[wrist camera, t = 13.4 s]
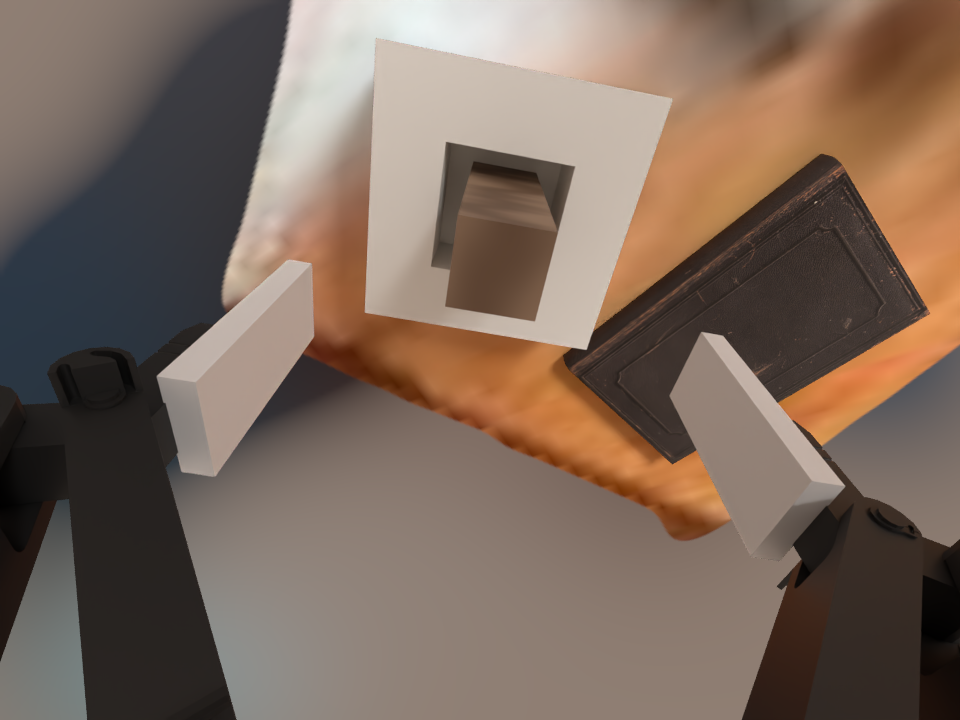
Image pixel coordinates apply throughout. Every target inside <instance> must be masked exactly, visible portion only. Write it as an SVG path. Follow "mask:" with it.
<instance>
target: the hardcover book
mask: <svg viewBox="0 0 960 720" xmlns="http://www.w3.org/2000/svg"><path fill="white" fill-rule="evenodd" d="M929 314H930V312H929V311H928V309H927V307H926V306H925V304H924V302H923V301H922V299H921V297H920V295H919V294H918V292H917V290H916V289H915V287H914V285H913V284H912V282H911V280H910V279H909V277H908V275H907V274H906V272H905V270H904V268H903V267H902V265H901V263H900V262H899V260H898V258H897V257H896V255H895V253H894V252H893V250H892V248H891V247H890V245H889V243H888V242H887V240H886V238H885V236H884V235H883V233H882V231H881V230H880V228H879V226H878V225H877V223H876V221H875V220H874V218H873V216H872V215H871V213H870V211H869V209H868V208H867V206H866V204H865V203H864V201H863V199H862V198H861V196H860V194H859V193H858V191H857V189H856V188H855V186H854V184H853V183H852V181H851V179H850V177H849V176H848V174H847V172H846V171H845V169H844V167H843V166H842V164H841V163H840V162H839V161H838V160H836V159H835V158H834V157H832V156H829V155H824V154H820V155H819V156H818V157H817V158H815V159H814V160H813V161H812V162H810V163H809V164H808V165H806V166H805V167H804V168H803V169H801V170H800V171H799V172H797V173H796V174H795V175H794V176H792V177H791V178H790V179H788V180H787V181H786V182H785V183H783V184H782V185H781V186H780V187H778V188H777V189H776V190H774V191H773V192H772V193H771V194H769V195H768V196H767V197H765V198H764V199H763V200H762V201H760V202H759V203H758V204H756V205H755V206H754V207H753V208H751V209H750V210H749V211H748V212H746V213H745V214H744V215H742V216H741V217H740V218H739V219H737V220H736V221H735V222H733V223H732V224H731V225H730V226H728V227H727V228H726V229H724V230H723V231H722V232H721V233H719V234H718V235H717V236H716V237H714V238H713V239H712V240H710V241H709V242H708V243H707V244H705V245H704V246H703V247H701V248H700V249H699V250H698V251H696V252H695V253H694V254H693V255H691V256H690V257H689V258H687V259H686V260H685V261H684V262H682V263H681V264H680V265H678V266H677V267H676V268H675V269H673V270H672V271H671V272H669V273H668V274H667V275H666V276H664V277H663V278H662V279H661V280H659V281H658V282H657V283H655V284H654V285H653V286H652V287H650V288H649V289H648V290H646V291H645V292H644V293H643V294H641V295H640V296H639V297H638V298H636V299H635V300H634V301H632V302H631V303H630V304H629V305H627V306H626V307H625V308H623V309H622V310H621V311H620V312H618V313H617V314H616V315H614V316H613V317H612V318H611V319H609V320H608V321H607V322H606V323H604V324H603V325H602V326H600V327H599V328H598V329H597V330H595V331H594V332H593V333H592V335H591V338H590V341H589V344H588V347H587V350H584V349H578V348H572V349H571V350H570V351H568V352H567V353H566V354H565V355H564V356H563V357H564V362H565V364H566V366H567V367H568V369H569V370H570V371H571V372H572V373H573V374H574V375H575V376H576V377H578V378H579V379H580V380H581V381H582V382H583V383H584V384H585V385H586V386H587V387H589V388H590V389H591V390H592V391H593V392H594V393H595V394H596V395H597V396H598V397H599V398H601V399H602V400H603V401H604V402H605V403H606V404H607V405H608V406H609V407H610V408H611V409H613V410H614V411H615V412H616V413H617V414H618V415H619V416H620V417H621V418H622V419H623V420H625V421H626V422H627V423H628V424H629V425H630V426H631V427H632V428H633V429H634V430H635V431H637V432H638V433H639V434H640V435H641V436H642V437H643V438H644V439H645V440H646V441H648V442H649V443H650V444H651V445H652V446H653V447H654V448H655V449H656V450H657V451H658V452H660V453H661V454H662V455H663V456H664V457H665V458H666V459H667V460H668V461H669V462H670V463H672V464H674V463H675V462H677V461H679V460H681V459H682V458H684V457H686V456H687V455H689V454H691V453H693V452H694V451H696V448H695V446H694V444H693V442H692V440H691V438H690V436H689V434H688V432H687V430H686V428H685V426H684V424H683V422H682V420H681V418H680V416H679V414H678V412H677V410H676V408H675V406H674V404H673V402H672V400H671V398H670V394H671V392H672V390H673V388H674V386H675V384H676V382H677V380H678V378H679V376H680V374H681V372H682V370H683V368H684V366H685V364H686V362H687V360H688V358H689V356H690V354H691V352H692V350H693V348H694V346H695V344H696V342H697V340H698V338H699V336H700V333H701V332H704V333H710V334H715V335H721V336H723V337H724V338H725V339H726V340H727V342H728V343H729V344H730V345H731V346H732V348H733V349H734V350H735V351H736V353H737V354H738V355H739V356H740V357H741V359H742V360H743V361H744V362H745V364H746V365H747V366H748V367H749V369H750V370H751V371H752V372H753V373H754V375H755V376H756V377H757V378H758V380H759V381H760V382H761V383H762V385H763V386H764V387H765V388H766V389H767V391H768V392H769V393H770V394H771V396H772V397H773V398H774V399H775V400H776V402H777V403H778V402H780V401H782V400H783V399H785V398H787V397H788V396H790V395H792V394H794V393H795V392H797V391H799V390H800V389H802V388H804V387H806V386H807V385H809V384H811V383H812V382H814V381H816V380H818V379H819V378H821V377H823V376H824V375H826V374H828V373H829V372H831V371H833V370H835V369H836V368H838V367H840V366H841V365H843V364H845V363H847V362H848V361H850V360H852V359H853V358H855V357H857V356H859V355H860V354H862V353H864V352H865V351H867V350H869V349H871V348H872V347H874V346H876V345H877V344H879V343H881V342H883V341H884V340H886V339H888V338H889V337H891V336H893V335H895V334H896V333H898V332H900V331H901V330H903V329H905V328H907V327H908V326H910V325H912V324H913V323H915V322H917V321H918V320H920V319H922V318H924V317H925V316H927V315H929Z"/></svg>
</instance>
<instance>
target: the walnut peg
mask: <svg viewBox="0 0 960 720" xmlns="http://www.w3.org/2000/svg"><path fill="white" fill-rule="evenodd" d="M557 235H558V231H557V228H556V225H555V223H554V220H553V217H552V215H551V212H550V209H549V206H548V204H547V201H546V198H545V195H544V193H543V190H542V187H541V184H540V182H539V179H538V176H537V173H534V172H529V171H524V170H518V169H513V168H507V167H502V166H497V165H491V164H486V163H480V162H475V161H474V162H473V165H472V168H471V172H470V175H469V178H468V182H467V185H466V189H465V192H464V195H463V199H462V202H461V206H460V209H459V212H458V217H457V224H456V231H455V238H454V246H453V253H452V260H451V267H450V274H449V282H448V289H447V296H446V303H445V307H450V308H456V309H462V310H468V311H474V312H480V313H486V314H492V315H498V316H504V317H510V318H516V319H522V320H528V321H534V322H535V320H536V316H537V312H538V308H539V304H540V300H541V297H542V293H543V289H544V285H545V281H546V277H547V273H548V270H549V266H550V262H551V258H552V254H553V250H554V247H555V243H556V239H557Z"/></svg>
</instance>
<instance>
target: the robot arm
mask: <svg viewBox="0 0 960 720" xmlns="http://www.w3.org/2000/svg"><path fill="white" fill-rule="evenodd" d="M313 337H314V314H313V281H312V263H306V262H301V261H295V260H289V259H288V260H287V261H286V262H284V263H283V264H282V265H281V266H280V267H279V268H278V269H277V270H275V271H274V272H273V273H272V274H271V275H270V276H269V277H268V278H266V279H265V280H264V281H263V282H262V283H261V284H260V285H259V286H257V287H256V288H255V289H254V290H253V291H252V292H251V293H250V294H248V295H247V296H246V297H245V298H244V299H243V300H242V301H241V302H239V303H238V304H237V305H236V306H235V307H234V308H233V309H232V310H230V311H229V312H228V313H227V314H226V315H225V316H224V317H223V318H221V319H220V320H219V321H218V322H217V323H216V324H215V325H211V324H204V323H200V324H198V325H195V326H192V327H190V328H188V329H185V330H183V331H181V332H180V333H179V334H177V335H176V336H175V337H174V338H172V339H171V340H170V341H169V344H165V345H164V346H163V347H162V348H160V349H159V350H158V353H154V354H153V355H152V356H150V357H149V358H148V359H147V360H146V361H144V362H143V363H142V364H141V365H140V366H138V367H137V366H136V362H135V359H134V357H133V356H132V355H131V353H130V352H127V351H125V350H122V349H120V348H110V347H101V348H89V349H85V350H82V351H77V352H73V353H71V354H69V355H67V356H64V357H62V358H60V359H58V360H57V361H56V362H55V363H53V364H52V365H51V366H50V368H49V371H48V376H49V379H50V381H51V383H52V386H53V388H54V390H55V393H56V395H57V398H58V400H59V403H48V404H30V405H29V404H27V405H22V404H21V402H20V400H19V398H18V396H17V394H16V393H15V392H14V391H13V390H12V389H11V388H9V387H5V386H1V385H0V661H1V658H2V655H3V652H4V649H5V647H6V644H7V641H8V638H9V635H10V632H11V629H12V627H13V623H14V621H15V618H16V615H17V612H18V610H19V607H20V604H21V601H22V598H23V595H24V592H25V589H26V586H27V584H28V581H29V578H30V575H31V573H32V570H33V567H34V564H35V561H36V558H37V556H38V553H39V550H40V547H41V544H42V541H43V538H44V536H45V533H46V530H47V527H48V524H49V521H50V518H51V516H52V513H53V510H54V507H55V504H56V501H57V500H63V499H69V503H70V514H71V527H72V540H73V552H74V564H75V576H76V588H77V601H78V612H79V625H80V637H81V649H82V661H83V674H84V684H85V685H84V686H85V698H86V710H87V720H237V719H236V716H235V712H234V709H233V705H232V702H231V698H230V695H229V691H228V687H227V684H226V680H225V677H224V673H223V670H222V666H221V663H220V659H219V656H218V652H217V648H216V645H215V642H214V638H213V634H212V631H211V628H210V624H209V620H208V616H207V613H206V610H205V606H204V602H203V599H202V595H201V592H200V588H199V585H198V581H197V577H196V574H195V570H194V567H193V563H192V560H191V556H190V553H189V549H188V546H187V542H186V538H185V534H184V531H183V527H182V524H181V520H180V517H179V513H178V510H177V506H176V503H175V499H174V495H173V492H172V488H171V485H170V481H169V478H168V474H167V471H166V466H167V465H168V464H169V463H170V462H171V460H172V459H173V458H174V457H175V456H176V454H177V456H178V460H179V464H180V468H181V471H182V472H186V473H193V474H199V475H206V476H213V477H215V476H216V475H217V473H218V472H219V470H220V469H221V468H222V466H223V465H224V463H225V462H226V460H227V459H228V458H229V456H230V455H231V453H232V452H233V451H234V449H235V448H236V446H237V445H238V444H239V442H240V441H241V439H242V438H243V436H244V435H245V433H246V432H247V431H248V429H249V428H250V427H251V425H252V424H253V422H254V421H255V419H256V418H257V417H258V415H259V414H260V412H261V411H262V410H263V408H264V406H265V405H266V404H267V402H268V401H269V399H270V398H271V397H272V395H273V394H274V393H275V391H276V390H277V388H278V387H279V385H280V384H281V383H282V381H283V380H284V378H285V377H286V376H287V374H288V373H289V371H290V370H291V368H292V367H293V366H294V364H295V363H296V361H297V360H298V359H299V357H300V356H301V354H302V353H303V351H304V350H305V349H306V347H307V346H308V344H309V343H310V342H311V340H312V339H313ZM670 398H671V400H672V402H673V404H674V406H675V408H676V410H677V412H678V414H679V416H680V418H681V420H682V422H683V424H684V426H685V428H686V430H687V432H688V434H689V436H690V438H691V440H692V442H693V444H694V446H695V448H696V450H697V452H698V454H699V456H700V458H701V460H702V462H703V464H704V466H705V468H706V470H707V472H708V474H709V476H710V478H711V480H712V482H713V483H714V485H715V487H716V489H717V491H718V493H719V495H720V497H721V499H722V501H723V503H724V505H725V507H726V509H727V511H728V513H729V515H730V517H731V519H732V521H733V523H734V525H735V527H736V529H737V531H738V533H739V535H740V537H741V539H742V541H743V543H744V545H745V547H746V549H747V551H748V553H749V555H750V557H755V558H761V559H768V560H776V561H780V560H781V559H782V558H783V557H784V556H785V554H786V553H787V552H788V551H789V550H790V549H791V548H792V547H793V546H794V547H795V549H796V551H797V552H798V554H799V556H800V557H801V559H802V560H801V561H800V562H799V563H798V564H797V565H796V566H795V567H794V568H793V569H792V570H791V571H790V573H789V574H788V575H787V576H786V577H785V578H784V579H783V580H782V581H781V582H780V584H779V585H778V586H777V587H778V588H780V589H781V590H782V589H783V588H784V587H785V586H787V588H786V591H785V594H784V597H783V600H782V603H781V606H780V609H779V612H778V615H777V617H776V620H775V623H774V626H773V629H772V632H771V635H770V638H769V641H768V644H767V647H766V650H765V653H764V656H763V659H762V662H761V665H760V668H759V671H758V674H757V677H756V680H755V682H754V686H753V688H752V691H751V694H750V697H749V700H748V703H747V706H746V709H745V712H744V715H743V718H742V720H960V540H958V541H957V542H956V543H955V544H954V545H953V546H951V547H947V546H945V545H942V544H940V543H937V542H934V541H932V540H929V539H926V538H924V537H922V534H921V532H920V531H919V530H918V529H917V527H916V526H915V525H914V523H913V522H911V521H910V520H909V519H908V518H907V517H906V516H904V515H903V514H902V513H901V512H899V511H897V510H896V509H894V508H893V507H891V506H889V505H887V504H885V503H883V502H880V501H878V500H875V499H871V498H867V497H863V496H862V494H861V493H860V492H859V491H858V489H857V488H856V487H855V486H854V485H853V484H852V482H851V481H850V480H849V479H848V478H847V476H846V475H845V474H844V473H843V472H842V471H841V469H840V468H839V467H838V466H837V464H836V463H835V462H833V461H831V457H830V456H829V455H828V454H827V452H826V451H825V450H822V446H821V445H820V444H819V443H818V442H817V440H816V439H815V438H814V437H813V436H812V435H811V433H809V432H808V431H807V430H805V429H804V428H803V427H802V426H800V425H799V424H798V423H796V422H795V421H794V420H791V419H790V418H789V416H788V415H787V414H786V413H785V412H784V410H783V409H782V408H781V407H780V405H779V404H778V403H777V402H776V400H775V399H774V398H773V397H772V396H771V394H770V393H769V392H768V391H767V389H766V388H765V387H764V386H763V385H762V383H761V382H760V381H759V380H758V378H757V377H756V376H755V375H754V373H753V372H752V371H751V370H750V369H749V367H748V366H747V365H746V364H745V362H744V361H743V360H742V359H741V357H740V356H739V355H738V354H737V353H736V351H735V350H734V349H733V348H732V346H731V345H730V344H729V343H728V342H727V340H726V339H725V338H724V337H723V336H721V335H715V334H710V333H704V332H701V333H700V336H699V338H698V340H697V342H696V344H695V346H694V348H693V350H692V352H691V354H690V356H689V358H688V360H687V362H686V364H685V366H684V368H683V370H682V372H681V374H680V376H679V378H678V380H677V382H676V384H675V386H674V388H673V390H672V392H671V394H670Z"/></svg>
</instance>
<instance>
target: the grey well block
mask: <svg viewBox="0 0 960 720" xmlns="http://www.w3.org/2000/svg"><path fill="white" fill-rule="evenodd" d="M672 101H673V99H672V98H667V97H663V96H658V95H653V94H648V93H643V92H638V91H633V90H628V89H623V88H618V87H613V86H609V85H604V84H599V83H594V82H589V81H584V80H579V79H574V78H569V77H564V76H560V75H555V74H550V73H545V72H540V71H535V70H530V69H525V68H520V67H515V66H510V65H506V64H501V63H496V62H491V61H486V60H481V59H476V58H471V57H466V56H461V55H457V54H452V53H447V52H442V51H437V50H432V49H427V48H422V47H417V46H412V45H408V44H403V43H398V42H393V41H388V40H383V39H378V38H376V47H375V72H374V97H373V121H372V146H371V171H370V196H369V221H368V246H367V271H366V296H365V313H370V314H376V315H382V316H388V317H394V318H400V319H406V320H412V321H418V322H423V323H429V324H435V325H441V326H447V327H453V328H459V329H465V330H471V331H477V332H483V333H489V334H495V335H501V336H507V337H513V338H519V339H525V340H531V341H536V342H542V343H548V344H554V345H560V346H566V347H572V348H578V349H584V350H587V347H588V344H589V341H590V338H591V335H592V332H593V329H594V327H595V324H596V321H597V318H598V315H599V312H600V309H601V306H602V303H603V301H604V298H605V295H606V292H607V289H608V286H609V283H610V280H611V277H612V274H613V272H614V269H615V266H616V263H617V260H618V257H619V254H620V251H621V248H622V246H623V243H624V240H625V237H626V234H627V231H628V228H629V225H630V222H631V219H632V217H633V214H634V211H635V208H636V205H637V202H638V199H639V196H640V193H641V191H642V188H643V185H644V182H645V179H646V176H647V173H648V170H649V167H650V165H651V162H652V159H653V156H654V153H655V150H656V147H657V144H658V141H659V138H660V136H661V133H662V130H663V127H664V124H665V121H666V118H667V115H668V112H669V110H670V107H671V104H672ZM474 161H475V162H480V163H486V164H491V165H497V166H502V167H507V168H513V169H518V170H524V171H529V172H534V173H537V176H538V179H539V182H540V184H541V187H542V190H543V193H544V195H545V198H546V201H547V204H548V206H549V209H550V212H551V215H552V217H553V220H554V223H555V225H556V228H557V231H558V235H557V239H556V243H555V247H554V250H553V254H552V258H551V262H550V266H549V270H548V273H547V277H546V281H545V285H544V289H543V293H542V297H541V300H540V304H539V308H538V312H537V316H536V320H535V322H534V321H528V320H522V319H516V318H510V317H504V316H498V315H492V314H486V313H480V312H474V311H468V310H462V309H456V308H450V307H445V303H446V296H447V289H448V282H449V274H450V267H451V260H452V253H453V246H454V238H455V231H456V224H457V217H458V212H459V209H460V206H461V202H462V199H463V195H464V192H465V189H466V185H467V182H468V178H469V175H470V172H471V168H472V165H473V162H474Z"/></svg>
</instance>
